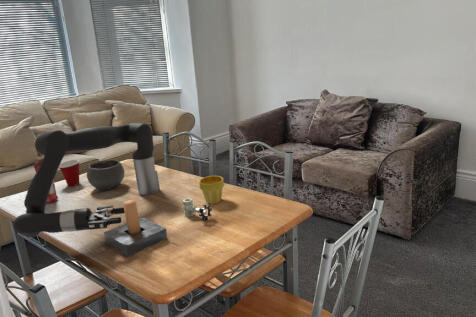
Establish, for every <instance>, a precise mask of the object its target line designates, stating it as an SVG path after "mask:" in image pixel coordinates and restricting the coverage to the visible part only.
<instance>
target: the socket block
mask: <svg viewBox="0 0 476 317" xmlns="http://www.w3.org/2000/svg"><path fill="white" fill-rule="evenodd" d="M139 222H140V228H141V232H140V233H137V234H135V235H132V236H131V235H129V233H128V228H127V222H126V223H124V224H122V225H119V226H117V227H114V228H112V229H109V230H106V231H105V232H103V235H104V240H105V243H106V244H107V245H108V246H111V247H112V248H114V249H115V250H117V251H118V252H120V253H122V254H123V255H124V256H126V257H130V256H132V255H134V254H136V253H139V252H141V251H143V250H145V249H148V248H150V247H152V246H154V245H157V244H159V243H161V242H163V241H165V240H167V239H168V234H167V233H168V232H167V228H166V227H164V226H162V225H159V224H158V223H156V222H153V221H151V220H149V219H147V218H145V217H144V216H142V217H139Z"/></svg>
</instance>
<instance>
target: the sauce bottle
mask: <svg viewBox="0 0 476 317" xmlns="http://www.w3.org/2000/svg"><path fill="white" fill-rule="evenodd" d="M35 150H36V149H35ZM36 156H37V161H36V162H34V164H33V168H34V171H35V174H36V173H37V171H38V169H39V168H40V166H41V164H42V161H43V159H44V155H42V154H40V153H39V152H38V151H37V150H36ZM58 198H59V196H58V195H57V190H56V184H55V179H54V180H53V182H52V185H51V188H50V192H49V195H48V199H47V202H46V204H51V203H54V202H56V201H57V200H58Z"/></svg>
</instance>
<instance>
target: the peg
mask: <svg viewBox="0 0 476 317" xmlns="http://www.w3.org/2000/svg"><path fill="white" fill-rule="evenodd" d="M122 205H123V207H124V211H125V213H124V216H125V222H126V223H127V228H128V233H129V235H131V236H132V235H135V234H137V233H140V232H141V228H140V222H139V218H140V217H139V212H138V206H137V201H136V200H135V199H128V200H125V201H123V203H122Z"/></svg>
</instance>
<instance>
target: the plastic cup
mask: <svg viewBox="0 0 476 317" xmlns="http://www.w3.org/2000/svg"><path fill="white" fill-rule="evenodd" d="M58 169H59V170H60V171H61V173H62V176H63V177H64V180H65V182H66V185H67V186H68V187H75V186H77V185H79V184H80V159H71V160H67V161H63V162H61V163H60V165H59V168H58Z"/></svg>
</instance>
